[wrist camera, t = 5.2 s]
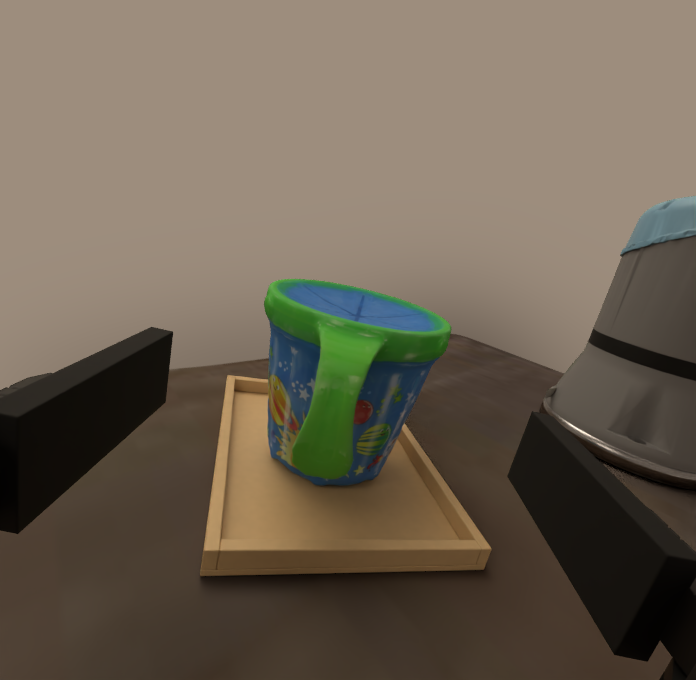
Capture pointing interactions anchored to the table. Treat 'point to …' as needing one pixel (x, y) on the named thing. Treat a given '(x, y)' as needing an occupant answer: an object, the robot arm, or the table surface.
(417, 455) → the tray
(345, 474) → the snack cup
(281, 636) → the table surface
